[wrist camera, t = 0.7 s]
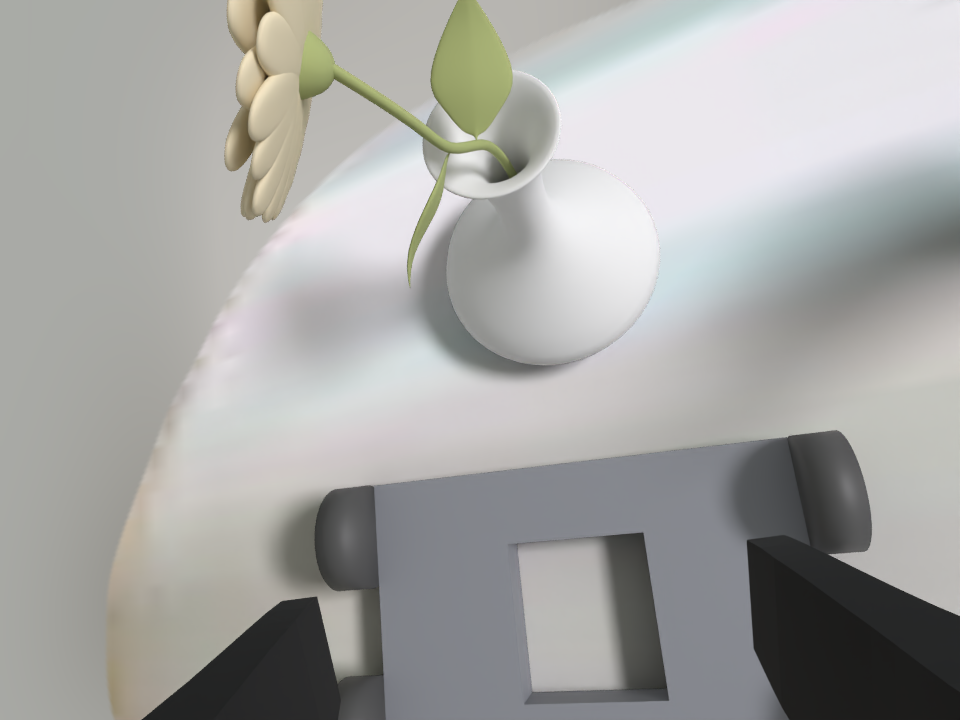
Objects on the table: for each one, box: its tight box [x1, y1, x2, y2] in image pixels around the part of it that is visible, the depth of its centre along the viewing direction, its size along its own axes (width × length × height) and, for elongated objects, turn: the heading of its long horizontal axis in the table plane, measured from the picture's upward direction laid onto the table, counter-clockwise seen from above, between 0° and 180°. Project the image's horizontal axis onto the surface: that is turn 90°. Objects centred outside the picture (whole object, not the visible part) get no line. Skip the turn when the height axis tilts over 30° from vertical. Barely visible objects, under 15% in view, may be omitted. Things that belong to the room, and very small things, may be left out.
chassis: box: [315, 430, 872, 720], centre depth 28 cm, size 14×24×5 cm, turn 96°
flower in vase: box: [224, 0, 660, 365], centre depth 23 cm, size 13×11×25 cm
